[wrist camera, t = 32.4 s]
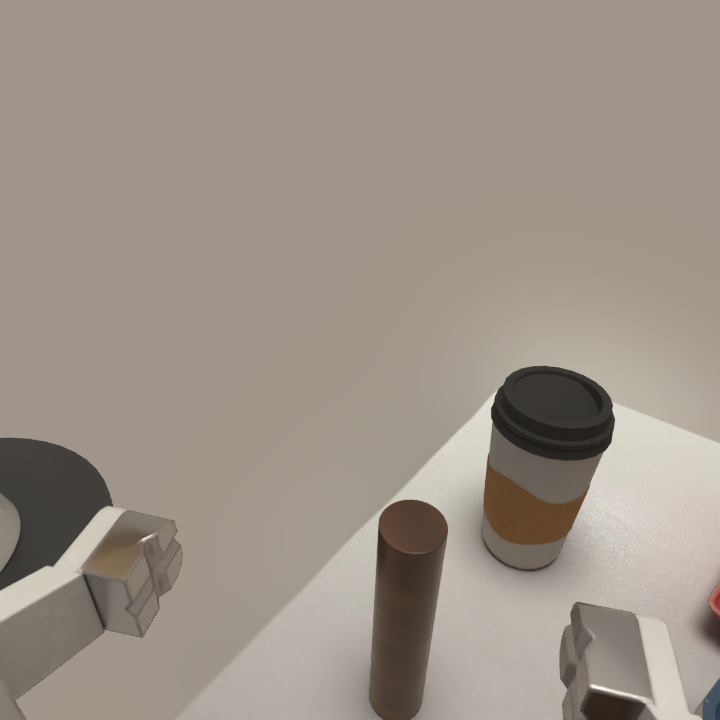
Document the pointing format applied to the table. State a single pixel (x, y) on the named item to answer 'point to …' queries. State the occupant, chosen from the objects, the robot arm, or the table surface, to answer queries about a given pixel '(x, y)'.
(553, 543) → the coffee cup
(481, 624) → the table surface
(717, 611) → the plant saucer
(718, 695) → the bowl
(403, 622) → the brown cylinder
